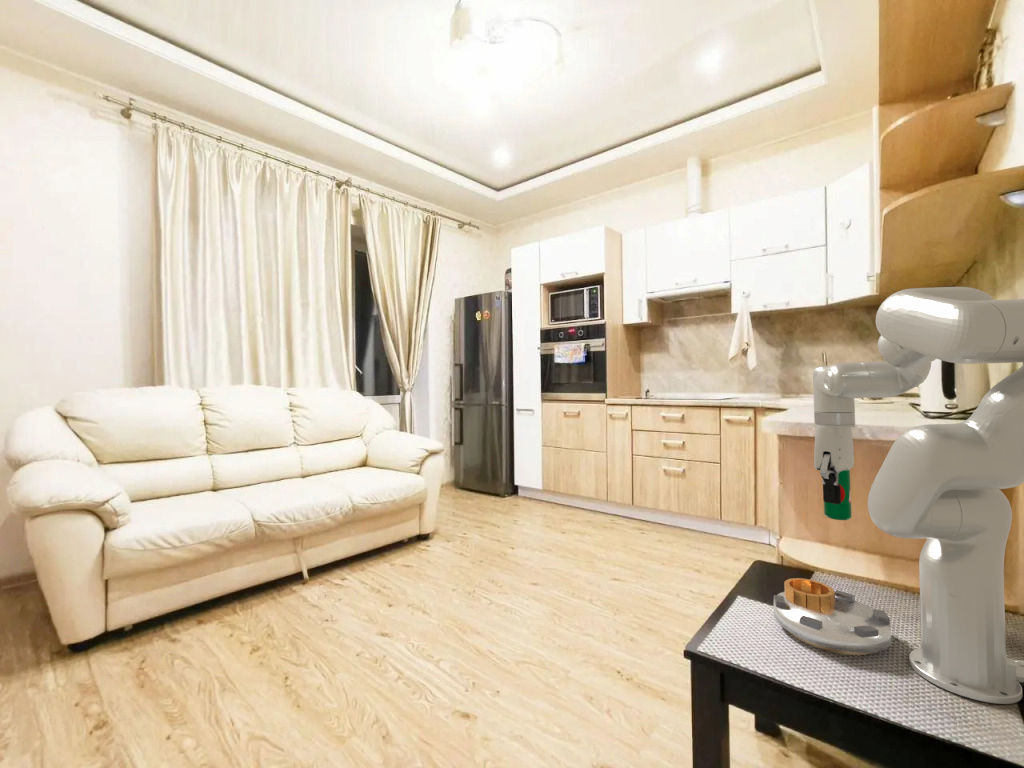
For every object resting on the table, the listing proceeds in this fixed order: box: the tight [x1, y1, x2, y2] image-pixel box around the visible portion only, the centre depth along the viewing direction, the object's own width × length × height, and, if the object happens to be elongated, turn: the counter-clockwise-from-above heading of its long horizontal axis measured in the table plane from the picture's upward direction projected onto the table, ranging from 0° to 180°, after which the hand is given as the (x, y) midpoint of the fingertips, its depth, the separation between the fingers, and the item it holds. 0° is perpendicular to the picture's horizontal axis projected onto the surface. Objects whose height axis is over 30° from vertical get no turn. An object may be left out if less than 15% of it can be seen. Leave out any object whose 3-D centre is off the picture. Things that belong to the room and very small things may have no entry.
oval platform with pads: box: [773, 577, 892, 653], centre depth 85 cm, size 18×18×5 cm
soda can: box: [823, 467, 853, 521], centre depth 102 cm, size 5×5×12 cm
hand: (837, 500), depth 102 cm, fingers closed on soda can, 5 cm apart
